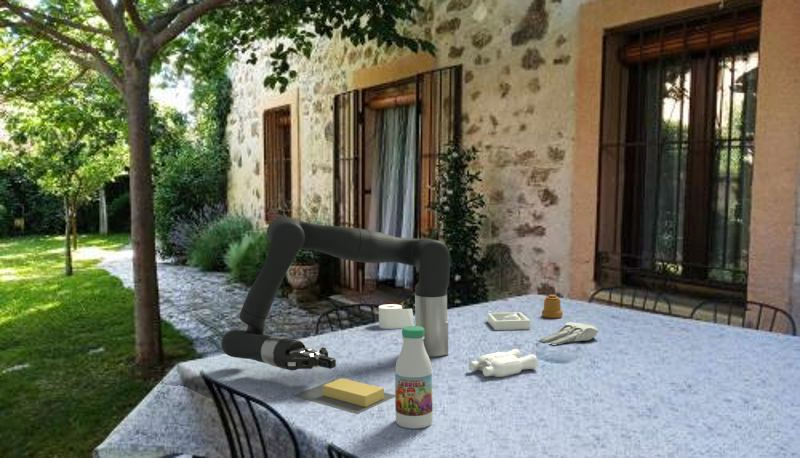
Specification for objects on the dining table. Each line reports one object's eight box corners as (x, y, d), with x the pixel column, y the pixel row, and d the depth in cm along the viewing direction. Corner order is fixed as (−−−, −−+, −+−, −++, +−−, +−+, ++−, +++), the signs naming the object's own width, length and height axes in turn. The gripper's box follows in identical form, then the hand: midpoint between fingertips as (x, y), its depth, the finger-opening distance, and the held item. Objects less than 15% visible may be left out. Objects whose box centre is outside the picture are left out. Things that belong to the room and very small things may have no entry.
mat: (292, 397, 145) (292, 395, 145) (333, 381, 156) (333, 379, 156) (357, 415, 133) (357, 413, 133) (397, 397, 144) (396, 395, 144)
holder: (520, 320, 222) (520, 312, 221) (530, 329, 209) (530, 320, 208) (487, 321, 221) (487, 313, 221) (494, 330, 208) (494, 321, 208)
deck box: (322, 385, 144) (365, 396, 137) (341, 378, 150) (383, 388, 142) (322, 396, 145) (365, 407, 137) (341, 388, 150) (384, 399, 142)
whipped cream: (516, 332, 209) (517, 318, 209) (497, 328, 213) (498, 314, 212) (524, 325, 216) (525, 312, 215) (506, 321, 220) (506, 308, 219)
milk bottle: (394, 416, 133) (393, 324, 131) (430, 414, 133) (429, 323, 132) (397, 430, 125) (395, 333, 123) (435, 429, 126) (434, 331, 124)
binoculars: (538, 371, 163) (538, 354, 163) (491, 382, 155) (491, 364, 155) (512, 362, 172) (512, 345, 172) (465, 372, 164) (465, 354, 164)
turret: (535, 348, 194) (534, 333, 194) (582, 330, 203) (580, 316, 203) (557, 355, 186) (556, 340, 185) (605, 337, 195) (603, 322, 194)
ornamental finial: (559, 314, 231) (564, 318, 224) (539, 314, 231) (544, 319, 224) (560, 293, 231) (565, 296, 223) (539, 293, 231) (544, 297, 223)
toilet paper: (413, 327, 213) (413, 307, 213) (381, 329, 211) (381, 309, 210) (408, 322, 221) (407, 303, 221) (376, 324, 219) (376, 304, 218)
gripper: (302, 361, 162) (352, 372, 152) (263, 374, 152) (313, 387, 141) (302, 332, 162) (351, 342, 151) (262, 343, 151) (312, 354, 141)
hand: (333, 363), depth 146 cm, fingers closed
